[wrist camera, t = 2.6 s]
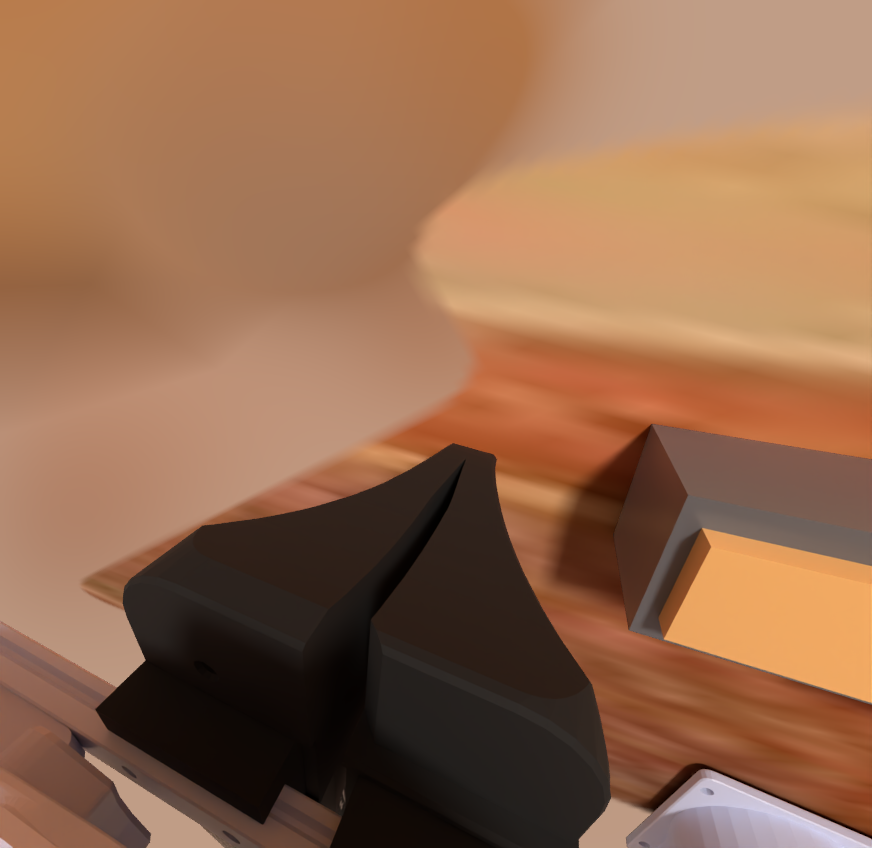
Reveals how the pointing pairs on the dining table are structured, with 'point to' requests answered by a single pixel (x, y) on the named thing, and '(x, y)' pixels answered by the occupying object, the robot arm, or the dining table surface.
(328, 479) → the dining table surface
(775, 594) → the grey box orange face
